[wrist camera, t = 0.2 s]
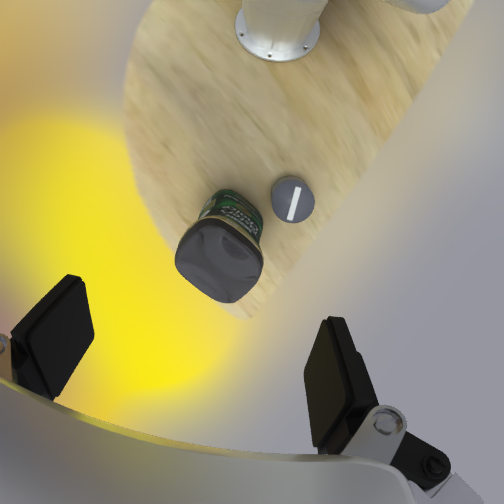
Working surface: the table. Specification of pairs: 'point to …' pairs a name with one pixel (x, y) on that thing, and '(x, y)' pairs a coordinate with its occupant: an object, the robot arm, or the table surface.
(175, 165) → the table surface
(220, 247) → the coffee jar
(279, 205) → the lid
